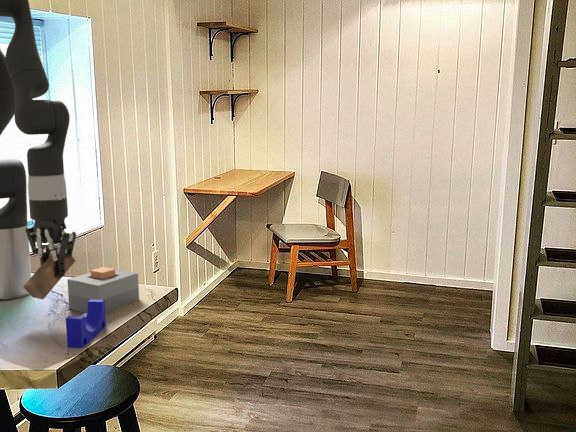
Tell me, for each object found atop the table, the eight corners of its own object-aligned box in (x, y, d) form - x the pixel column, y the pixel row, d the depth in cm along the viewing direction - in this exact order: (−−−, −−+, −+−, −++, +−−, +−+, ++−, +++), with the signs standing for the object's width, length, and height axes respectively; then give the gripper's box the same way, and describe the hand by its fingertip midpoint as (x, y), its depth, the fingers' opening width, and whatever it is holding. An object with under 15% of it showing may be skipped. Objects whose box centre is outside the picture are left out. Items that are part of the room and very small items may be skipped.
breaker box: (69, 308, 146) (67, 279, 144) (109, 295, 156) (107, 267, 155) (100, 316, 141) (98, 285, 139) (139, 302, 151) (137, 273, 149)
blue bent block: (85, 326, 135) (83, 299, 134) (106, 327, 134) (104, 299, 133) (60, 348, 123) (58, 318, 122) (82, 348, 123) (80, 318, 121)
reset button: (91, 284, 147) (90, 270, 146) (104, 280, 150) (103, 266, 149) (103, 286, 145) (102, 272, 144) (115, 282, 148) (115, 269, 147)
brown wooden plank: (22, 286, 133) (56, 248, 140) (32, 297, 135) (64, 259, 142) (33, 288, 131) (67, 250, 138) (43, 299, 134) (75, 260, 140)
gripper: (10, 196, 135) (17, 275, 138) (55, 200, 128) (61, 284, 131) (41, 192, 141) (46, 267, 144) (85, 196, 134) (89, 276, 137)
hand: (53, 275), depth 137 cm, fingers closed on brown wooden plank, 3 cm apart
